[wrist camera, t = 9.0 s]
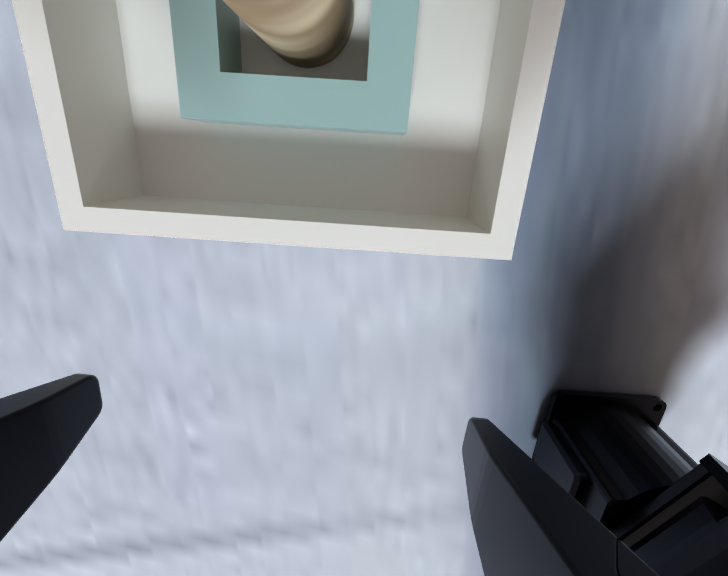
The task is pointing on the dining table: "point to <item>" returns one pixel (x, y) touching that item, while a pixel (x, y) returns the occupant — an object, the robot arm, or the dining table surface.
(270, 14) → the dowel
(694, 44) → the dining table surface
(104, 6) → the box
